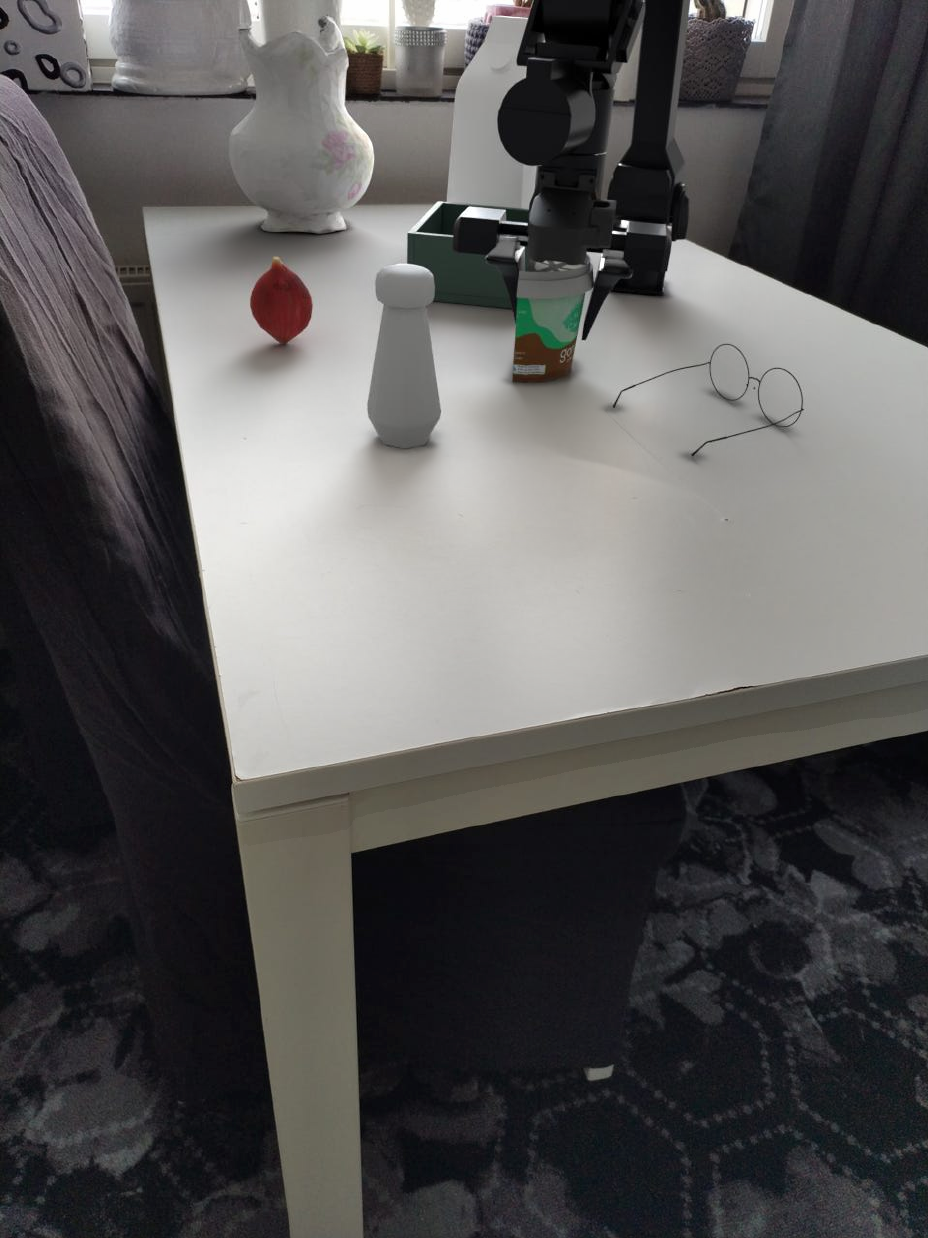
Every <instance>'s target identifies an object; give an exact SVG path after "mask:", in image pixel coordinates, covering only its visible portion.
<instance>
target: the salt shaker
mask: <svg viewBox="0 0 928 1238" xmlns="http://www.w3.org/2000/svg"><path fill="white" fill-rule="evenodd" d="M374 286H375V296H376V299H377V301H378V302H379V303H381V304H383V305H382V312H381V316H380V323H379V330H378V335H377V343H376V348H375V354H374V361H373V368H372V373H371V378H370V383H369V391H368V398H367V404H366V407H367V409H366V411H367V416H368V417H367V418H368V419H369V421H370V423H371V424H372V426H373V428H374V430H375V431H376V434H377V435H378V437H379V439H380V440H381V442H382V445H385V446H391V447H395V448H400V449H404V450H405V449H410V448H415V447H421V446H425V445H426V443H427V441H428V439H429V437H430V436H431V434H432V432H433V431H434V429H435V427H436V426H437V424H438V422H439V420H440V418H441V416H442V415H441V413H442V408H441V401H440V400H441V399H440V393H439V387H438V379H437V372H436V365H435V358H434V351H433V344H432V337H431V331H430V324H429V323H430V322H429V317H428V310H427V306H428V305H430V304H432V303H433V302H434V301H433V299H434V293H435V285H434V277H433V274H432V273H431V272H430V271H429V270H428V269H426V268H424V267H421V266H417V265H413V264H407V263H395V264H390V265H385V266H383V267H381V268H380V269H379V270H378V271H377V272H376V276H375V285H374Z"/></svg>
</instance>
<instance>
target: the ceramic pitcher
mask: <svg viewBox="0 0 928 1238" xmlns="http://www.w3.org/2000/svg"><path fill="white" fill-rule="evenodd" d="M252 24H253V23H252V21H248V22H247V21H246V22H241V23H239V25H235V28H236V30H237V33H238V40H239V42H240V46H241V48H242V51H243V54H244V57H245V58H246V61H247V65H248V66H249V70H250V73H251V75H252V78H253V83H254V89H255V96H256V98H255V100H254V101H255V102H254V105H253V107H252V109H251V110H250V112H249V113H248V114H247V115H246V116H245V117H244V118H243V119H242V120H240V122H239V123H238V124H237V125H236V126H234V128H233V129H232V130H231V133H230V134H229V138H228V139H229V140H228V155H229V156H228V157H229V161H230V162H229V163H230V166H231V170H232V173H233V176H234V178H235V181H236V182H237V185H238V186H239V187H240V189H241V191H242V192H243V193H244V195H245V196H246V198H248V199H249V201H250V202H251V203H253V204H254V205H256V206H258V207H259V208H261V209H263V210H265V211H266V212H267V216H266V218H265V219H264V222H263V223H261V226H260V228H261V229H262V230H263V231H264V232H265V231H266V232H269V233H270V232H271V233H281V232H282V233H283V232H302V233H303V232H304V233H312V234H313V233H314V234H319V235H320V234H326V233H333V232H336V231H344V230H345V231H346V230H347V229H348V228H347V225H346V223H345V221H344V218H343V216H342V215H341V211H342V212H343V211H345V210H348V209H350V208H352V207H353V206H355V205H356V204H357V203H358V202H359V201H360V200H361V199H362V197H363V196H364V194H365V193H366V191H367V189H368V187H369V185H370V183H371V179H372V177H373V172H374V166H375V152H374V146H373V142H372V140H371V138H370V137H369V135H368V134H367V132H365V130H364V129H362V128H361V126H360V125H358V123H357V122H356V121H355V120H354V118H353V117H352V116H351V114H349V113H348V110H347V108H346V106H345V105H346V86H347V85H346V83H347V71H348V68H349V66H350V64H349V63H350V62H349V56H348V51H347V49H346V45H345V41H344V38H343V35H342V32H341V30H340V28H339V27H338V25H337V20H334V17H331V15H328V14H326V15H325V16H323V15H322V16H319V19H318V20H317V24H318V29H319V32H318V34H317V35H318V36H317V39H316V38H315V37H314V36H312V35H310V34H308V33H306V32H303V31H300V30H298V29H296V30H292V31H289V32H288V33H285V34H283V35H281V36H273V37H272V38H271V39H269V40H268V41H267V42H265V43H263V42H260V41H259V40H258V39H256V38H255V36H254V34H253V32H252V27H251V25H252Z"/></svg>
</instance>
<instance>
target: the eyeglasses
mask: <svg viewBox="0 0 928 1238" xmlns="http://www.w3.org/2000/svg"><path fill="white" fill-rule="evenodd" d="M722 346H730V347H733V348H735V349H736V350H737V351H738V352H739V354H741V356H742V357H743V359H744V362H745V364H746V365H745V366H746V368H747V369H746V370H747V383H746V384H745V386H746V388H745V390H744V392H743V393H742V394H741V396H739V397H738V398H735V399H730V398H727V397H725V396H724V395H722V394H721V393H720V392H719V390H718V389H717V387H716V386H715V383H714V380H713V377H712V371H711V370H712V366H711V364H712V360H713V356H714V354H715V352H716V351H717V350H718V349H719V348H720V347H722ZM707 364H709V367H708V368H709V376H710V381H711V384H712V386H713V388H714V389H715V391H716V393H718V395H719V396H720V397H722V398H723V399H724V400H726V401H730V402H735V401H738V400H740V399H741V398H742V397H744V396H745V394H746V393H747V390H748V388H749V385H750V379H753V380H755V381H757V382H758V387H757V388H756V386H753V387H752V390H755V389H756V391H757V400H758V405H759V408H760V410H761V412H762V414H763V416H764V417H765V419H766V420H767V421H768V422H769V423H771V424H769V425H765V426H761V427H757V428H754V429H750V430H747V431H746V430H745V431H743V432H739V433H735V434H732V435H727V436H721V437H719V438H715V439H711V440H707V441H704V443H703V444H701V445H700V446H699V447H698V448H697V449H696V450H695V451H694V452H692V453H691V454H690V456H691V457H694V456H695V455H696V454H697V453H699V451H700V450H702V448H703V447H704V446H706V445H707V444H709V443H710V444H711V443H714V442H718V441H722V440H727V439H728V438H732V437H737V436H740V435H743V434H747V433H751V432H755V431H758V430H762V429H766V428H769V427H772V426H776V427H778V428H788V427H791V426H793V425H794V424H795V423H796V422H797V421H798V420H799V418H800V417H801V414H802V412H803V411H804V410H805V409H804V408H803V405H804V397H803V392H802V388H801V385H800V384H799V381H798V380H797V378H796V377H795V375H794V374H792V373H791V372H790V371H788V370H787V369H785V368H782V367H772V368H769V369H768V370H767V371H765V372H764V373H763V374H762V377H761V378H760V379H759V378H757V377H754V376H750V368H749V365H748V362H747V359H746V357H745V355H744V353H743V352H742V351H741V350H740V349H739V348H738V347H737V346H735V345H733V344H731V343H722V344H719V345H718V346H717V347H716V348H715V349H714V350H713V352H712V354H711V356H710V359H709V361H708V362H707V361H706V362H705V363H704V362H703V363H701V364H695V365H690V366H685V367H680V368H677V369H676V368H675V369H673V370H670V371H666V372H664V373H662V374H659V375H657V376H653V377H651V378H648V379H646V380H644V381H641V382H639V383H636V384H632V385H631V386H628V387H626V388H624V389H622V390H620V391H619V394H618V395H617V398H616V399H615V401H614V403H613V405H612V408H613V409H615V408H616V406H617V404H618V401H619V400H620V397H621V395H622V393H623V392H625V391H628V390H631V389H633V388H636V387H637V386H639V385H642V384H645V383H646V382H649V381H653V380H655V379H657V378H660V377H661V376H664V375H667V374H670V373H674V372H677V371H680V370H684V369H691V368H695V367H696V368H697V367H701V366H705V365H707ZM773 370H782V371H784V372H786V373H787V374H789V375H790V376H791V377H793V379H794V381H795V382H796V384H797V387H798V388H799V392H800V397H801V398H800V399H801V405H800V410H797V411H794V412H793V413H791V414H790V415H789V416H787V417H785V418H783V419H781V420H779V421H777V422H772V421H771V420H770V418H769V417H768V416H767V415H766V413H765V412H764V409H763V408H762V405H761V399H760V386H761V383H762V381H763V378H764V377H765V375H766V374H767V373H769V372H770V371H773ZM798 413H799V415H798V416H797V417H796V419H795V420H794V421H793V422H792V423H791V424H789V425H778V424H779V423H782V422H784V421H785V420H788V419H789V418H791V417H792V416H794V415H796V414H798Z"/></svg>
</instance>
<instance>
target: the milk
mask: <svg viewBox="0 0 928 1238" xmlns="http://www.w3.org/2000/svg"><path fill="white" fill-rule="evenodd" d="M527 21H528V17H517V16H505V15H493V16H492V18H491V22H490V24H489V28H488V29H487V33H486V35H485V38H484V42H482V44H481V45H480V47H479V48H478V50H477V52H476V53H475V54H474V56H473V57H472V59H471V61H469V63H468V65H467V67H466V68H465V69H464V71H463V73H462V75H461V76H460V78H459V80H458V83H457V85H456V88H455V95H454V106H453V116H452V117H453V118H452V128H451V129H452V130H451V142H450V154H449V164H448V165H449V166H448V167H449V168H448V177H447V178H448V179H447V191H446V201H445V202H452V203H463V204H475V205H486V206H498V207H509V208H521V209H529V203H530V201H531V198H532V196H533V193H534V188H535V177H536V166H528V165H525V164H522V163H520V162H518V161H516V160H515V159H514V158H512V157H511V156H510V155H509V154H508V152H507V151H506V150H505V148H504V146H503V144H502V142H501V140H500V137H499V133H498V125H497V117H498V111H499V109H500V106H501V104H502V101H503V98H504V97H505V95H506V94H507V92H508V90H509V89H510V88H511V87H512V86H513V85H514V84H515V83H517V82H519V81H520V80H522V79H524V78H526V69H527V67H526V66H518V65H517V63H516V60H517V55H518V51H519V48H520V45H521V41H522V38H523V34H524V31H525V27H526V24H527ZM543 42H545V39H544V41H543Z"/></svg>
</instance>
